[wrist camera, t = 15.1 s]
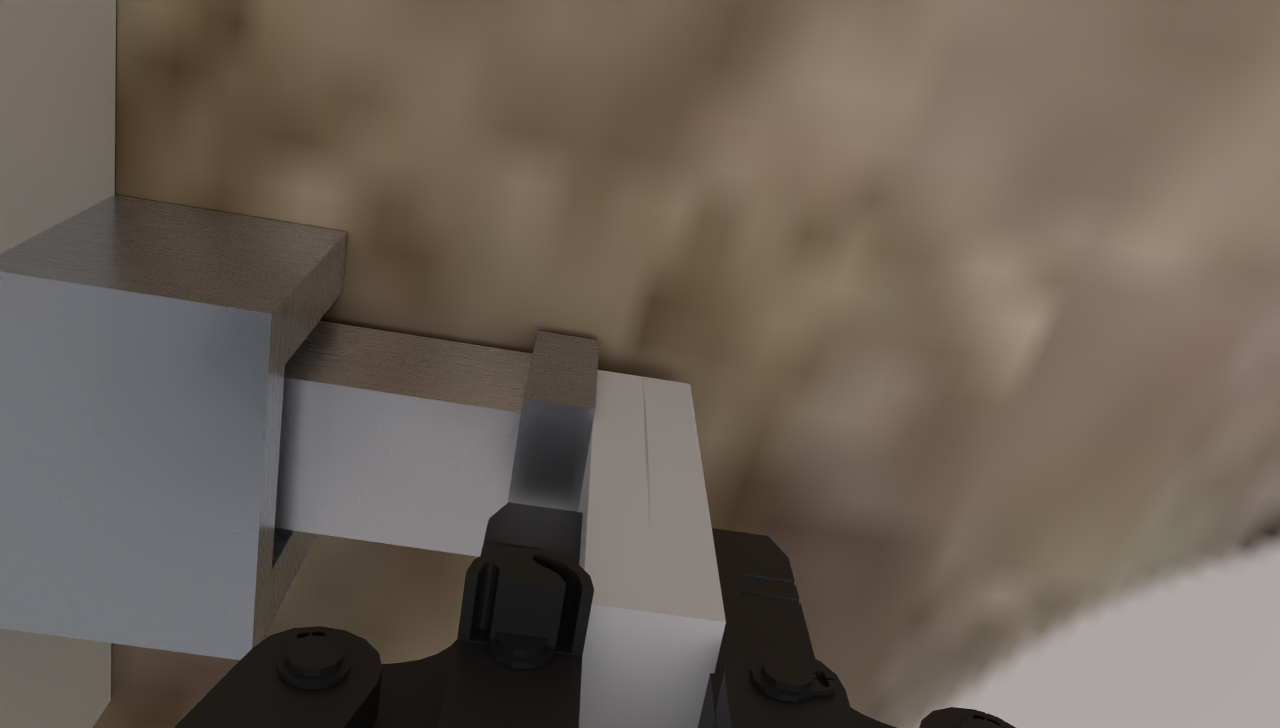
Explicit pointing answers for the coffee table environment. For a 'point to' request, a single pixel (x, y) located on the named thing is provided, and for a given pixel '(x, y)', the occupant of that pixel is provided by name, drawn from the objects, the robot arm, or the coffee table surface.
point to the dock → (24, 207)
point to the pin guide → (152, 422)
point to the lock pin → (429, 434)
